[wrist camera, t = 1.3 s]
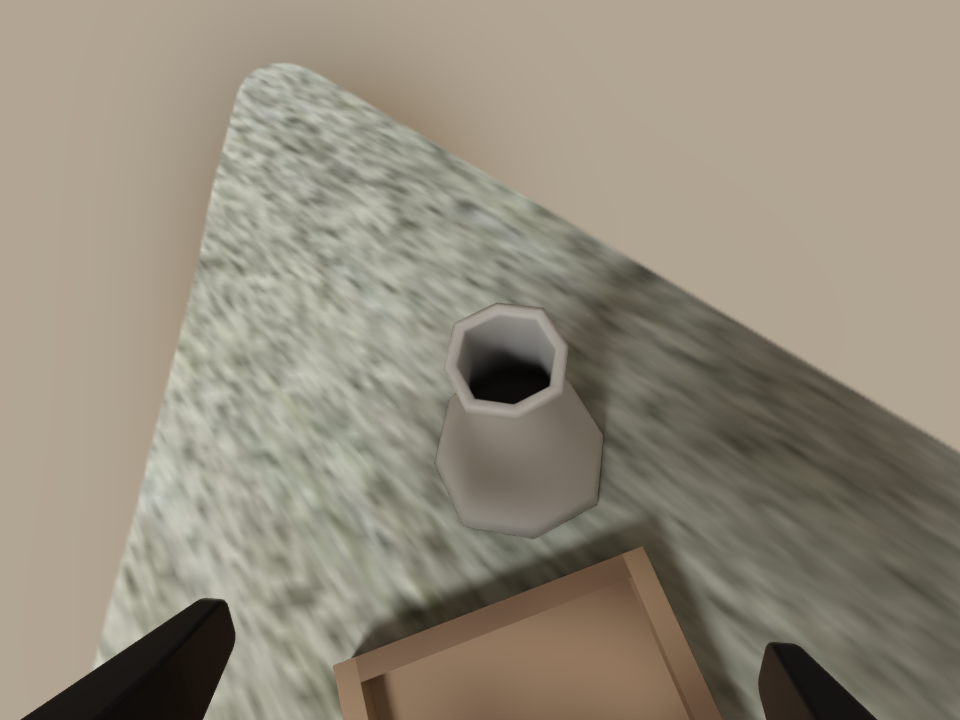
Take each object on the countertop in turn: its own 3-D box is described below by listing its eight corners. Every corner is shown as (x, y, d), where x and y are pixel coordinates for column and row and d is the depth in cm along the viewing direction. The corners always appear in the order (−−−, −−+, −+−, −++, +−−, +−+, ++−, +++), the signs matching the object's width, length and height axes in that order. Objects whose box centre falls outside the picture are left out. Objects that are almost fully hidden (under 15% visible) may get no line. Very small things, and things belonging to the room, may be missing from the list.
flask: (444, 553, 21) (372, 526, 12) (427, 387, 24) (359, 263, 15) (624, 525, 21) (693, 475, 11) (583, 361, 24) (613, 217, 14)
